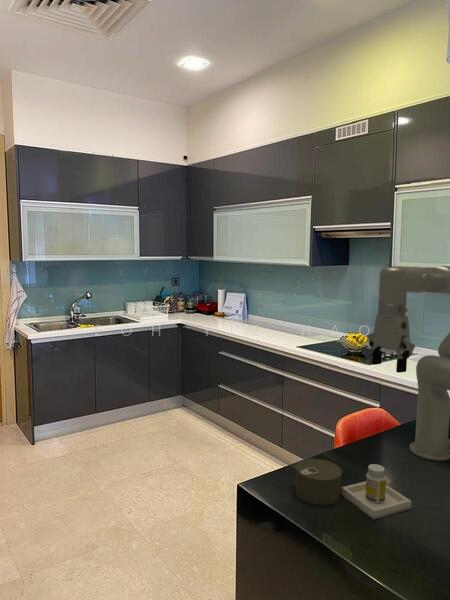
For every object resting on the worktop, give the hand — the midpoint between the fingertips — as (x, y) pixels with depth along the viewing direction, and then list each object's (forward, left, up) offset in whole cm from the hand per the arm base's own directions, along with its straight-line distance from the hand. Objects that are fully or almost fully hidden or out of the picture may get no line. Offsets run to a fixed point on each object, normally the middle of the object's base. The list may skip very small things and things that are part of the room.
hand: (388, 367), depth 130 cm
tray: (+16, +14, -30) cm, 37 cm away
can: (+27, +5, -31) cm, 41 cm away
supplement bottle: (+16, +14, -30) cm, 37 cm away
